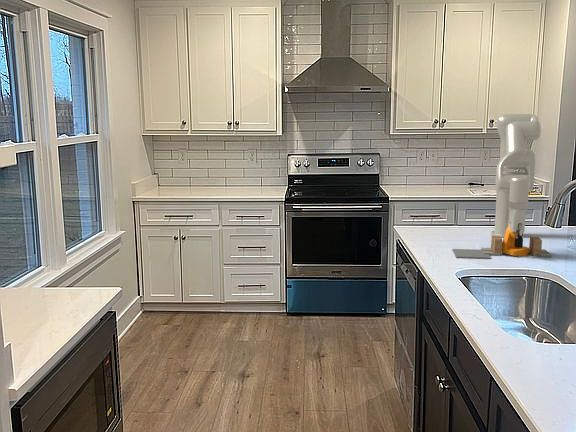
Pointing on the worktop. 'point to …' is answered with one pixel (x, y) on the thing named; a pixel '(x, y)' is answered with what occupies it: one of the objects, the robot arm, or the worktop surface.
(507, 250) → the bracket
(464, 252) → the mat
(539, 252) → the vise jaws
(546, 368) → the worktop surface
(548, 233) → the worktop surface
